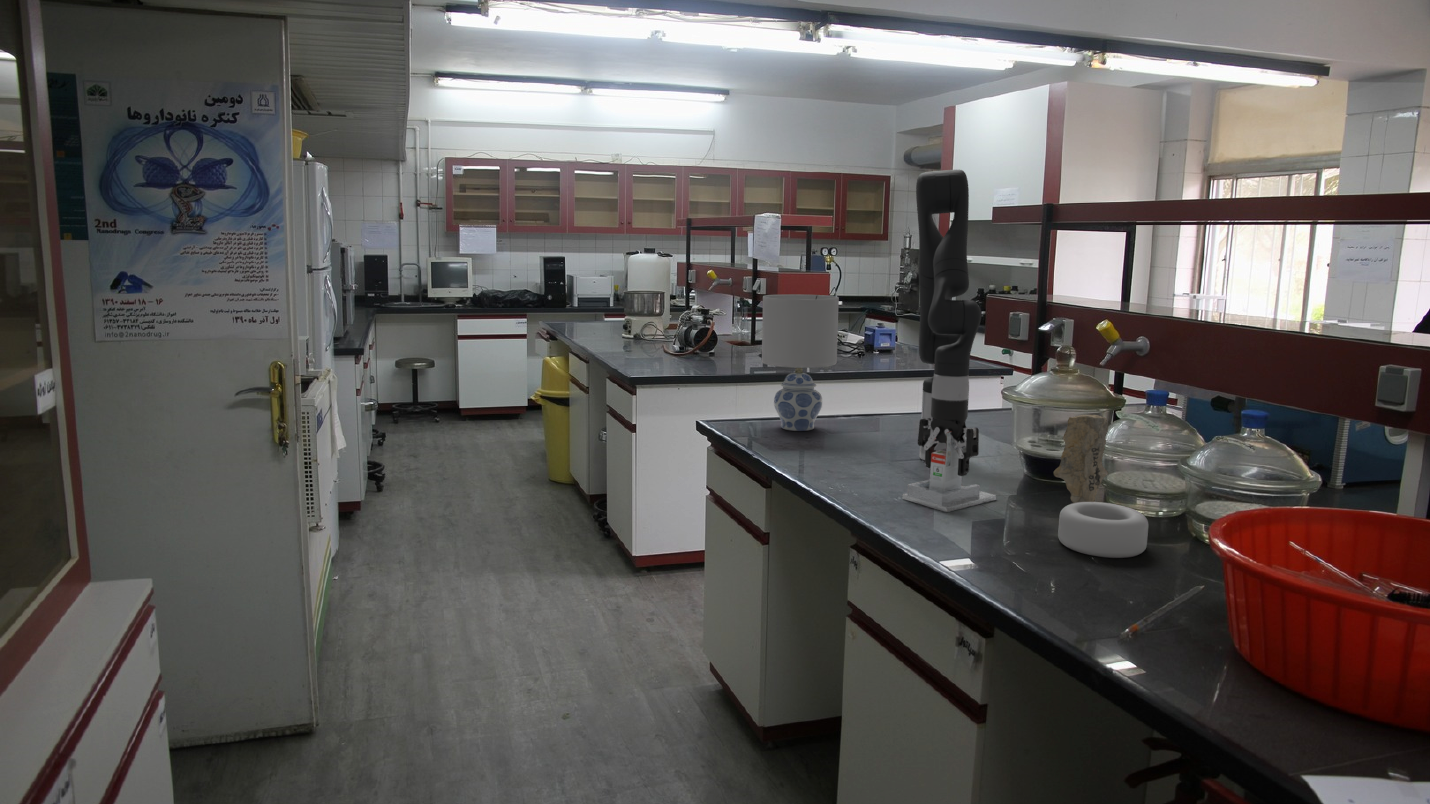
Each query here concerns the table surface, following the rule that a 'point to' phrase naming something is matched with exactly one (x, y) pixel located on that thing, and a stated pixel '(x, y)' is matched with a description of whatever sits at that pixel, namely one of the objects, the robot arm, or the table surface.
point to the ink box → (945, 468)
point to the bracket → (946, 496)
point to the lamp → (799, 351)
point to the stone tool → (1083, 456)
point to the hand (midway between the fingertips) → (946, 471)
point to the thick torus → (1103, 529)
